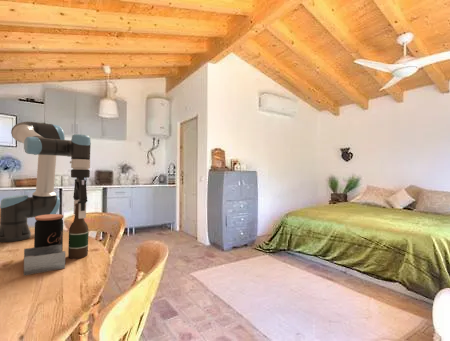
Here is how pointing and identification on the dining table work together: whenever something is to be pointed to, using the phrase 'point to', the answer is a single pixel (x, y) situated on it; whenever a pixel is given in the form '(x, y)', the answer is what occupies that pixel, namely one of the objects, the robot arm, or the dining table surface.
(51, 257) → the bracket
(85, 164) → the robot arm
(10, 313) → the dining table surface
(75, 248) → the beer bottle
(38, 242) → the coffee jar
